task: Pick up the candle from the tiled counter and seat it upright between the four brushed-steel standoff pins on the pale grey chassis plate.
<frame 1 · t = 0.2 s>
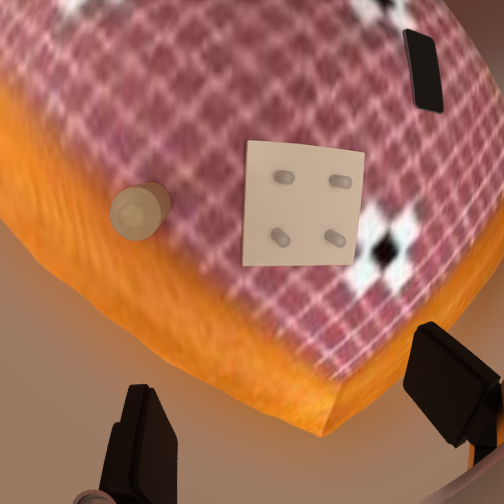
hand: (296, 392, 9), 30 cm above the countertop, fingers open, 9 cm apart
smartphone: (421, 71, 35), on the countertop
candle: (150, 202, 36), on the countertop
chassis plate: (303, 205, 38), on the countertop
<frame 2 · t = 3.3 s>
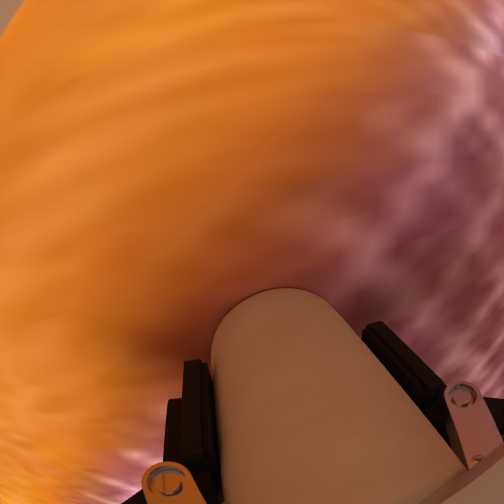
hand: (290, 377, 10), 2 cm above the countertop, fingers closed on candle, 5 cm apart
candle: (276, 344, 12), on the countertop, touching gripper
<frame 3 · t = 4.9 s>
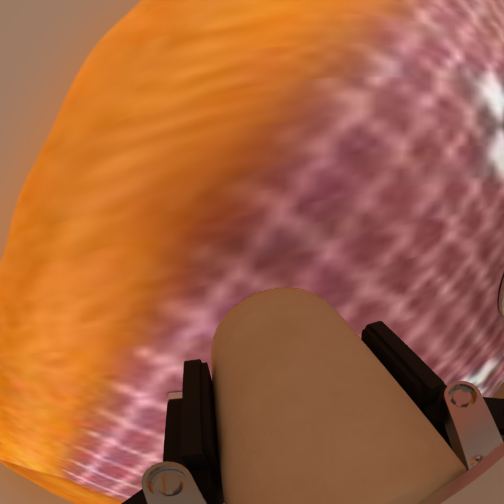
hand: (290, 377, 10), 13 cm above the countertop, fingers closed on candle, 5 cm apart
candle: (276, 343, 12), point 11 cm above the countertop, touching gripper
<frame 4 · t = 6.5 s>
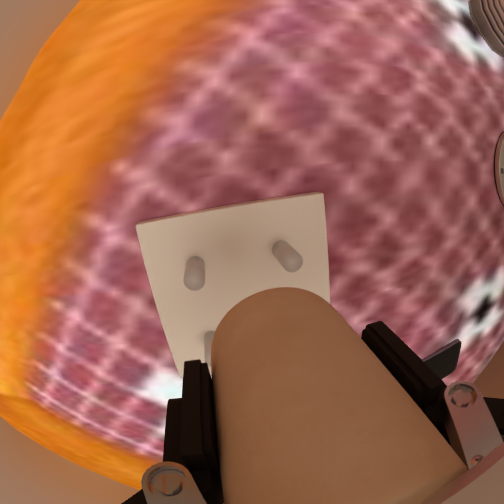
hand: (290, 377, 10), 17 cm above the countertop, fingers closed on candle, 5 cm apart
smartphone: (421, 371, 37), on the countertop
candle: (276, 343, 12), point 15 cm above the countertop, touching gripper
can: (488, 26, 22), on the countertop
chassis plate: (242, 289, 27), on the countertop
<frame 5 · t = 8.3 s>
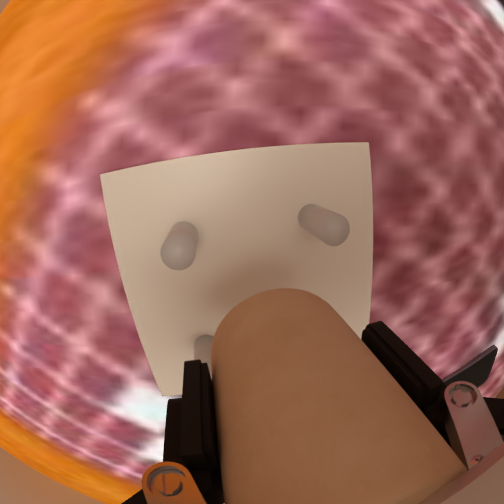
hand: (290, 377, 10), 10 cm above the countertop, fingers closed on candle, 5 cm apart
smartphone: (454, 382, 29), on the countertop
candle: (276, 344, 12), point 8 cm above the countertop, touching gripper
chassis plate: (252, 276, 19), on the countertop
when the fingers open (5 cm above the countertop, at t = 9.7 s): candle drops 1 cm, resting on chassis plate.
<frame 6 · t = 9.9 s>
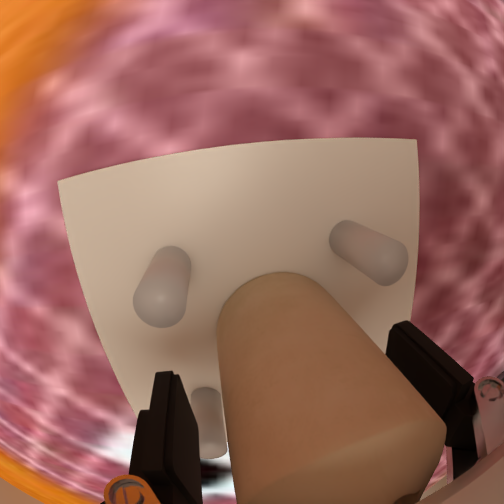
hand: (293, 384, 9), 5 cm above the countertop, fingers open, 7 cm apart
candle: (275, 324, 13), point 1 cm above the countertop, touching chassis plate
chassis plate: (264, 313, 14), on the countertop
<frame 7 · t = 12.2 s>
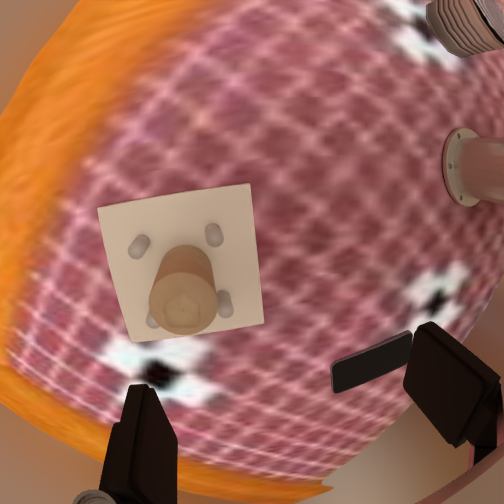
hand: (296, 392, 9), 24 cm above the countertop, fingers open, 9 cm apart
smartphone: (371, 360, 42), on the countertop
candle: (185, 269, 30), point 1 cm above the countertop, touching chassis plate
can: (447, 29, 28), on the countertop
chassis plate: (183, 265, 32), on the countertop
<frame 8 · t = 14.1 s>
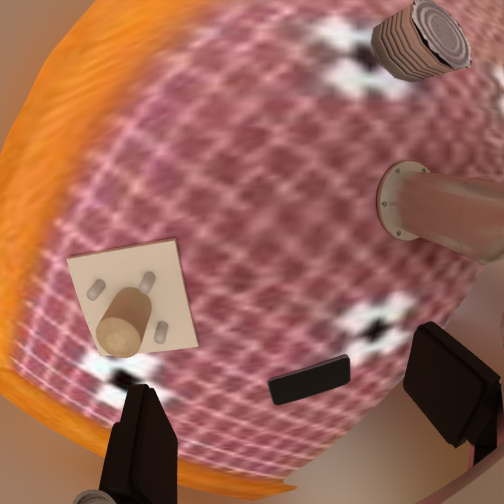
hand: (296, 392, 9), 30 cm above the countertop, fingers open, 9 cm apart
smartphone: (309, 378, 48), on the countertop
candle: (133, 304, 37), point 1 cm above the countertop, touching chassis plate
can: (398, 51, 34), on the countertop
chassis plate: (133, 301, 39), on the countertop
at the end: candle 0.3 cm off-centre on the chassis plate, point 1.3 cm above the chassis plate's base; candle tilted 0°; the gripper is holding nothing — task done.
